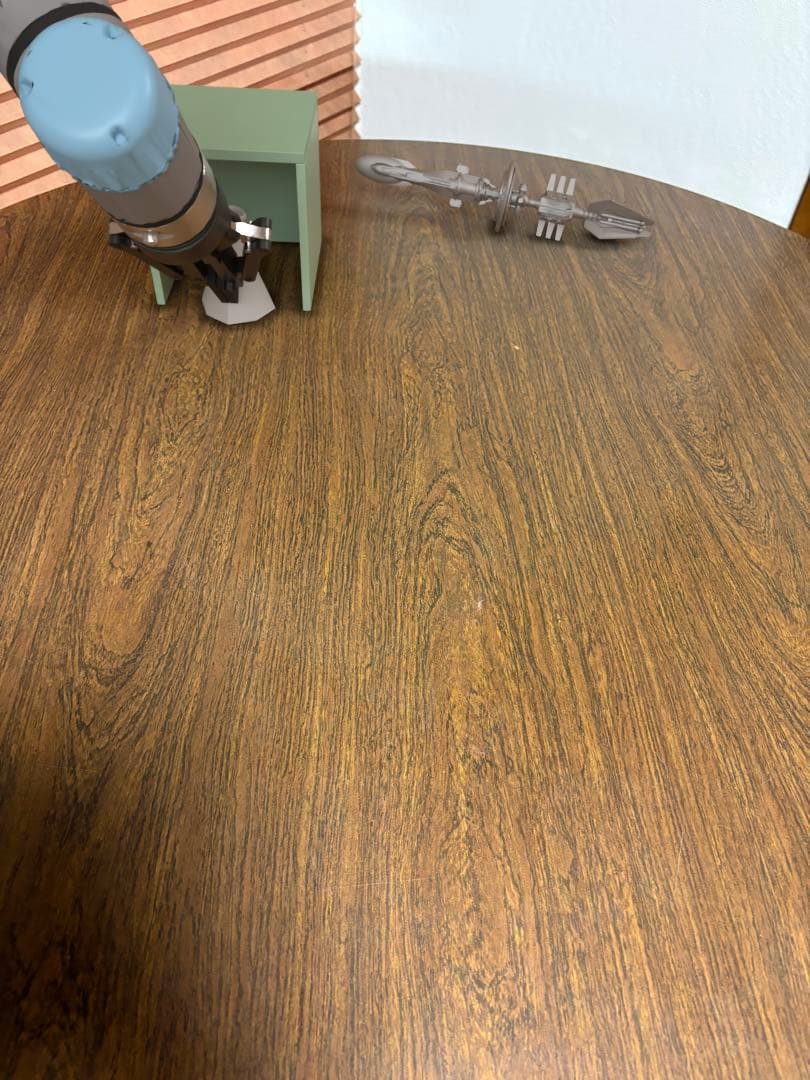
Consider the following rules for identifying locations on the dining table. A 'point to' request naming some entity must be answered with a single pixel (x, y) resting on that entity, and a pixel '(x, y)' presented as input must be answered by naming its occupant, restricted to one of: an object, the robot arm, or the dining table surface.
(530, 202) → the spaceship
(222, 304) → the flask
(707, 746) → the dining table surface
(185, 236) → the robot arm
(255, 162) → the green open shelf box
